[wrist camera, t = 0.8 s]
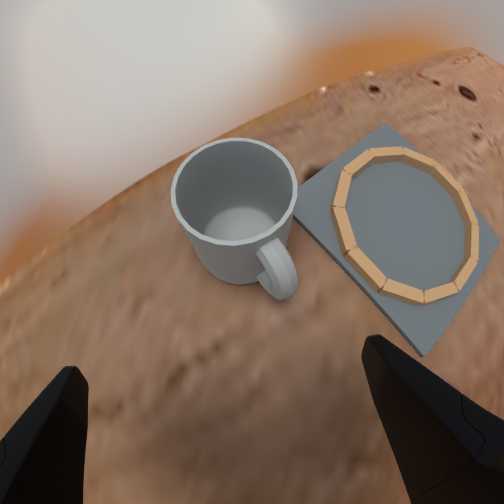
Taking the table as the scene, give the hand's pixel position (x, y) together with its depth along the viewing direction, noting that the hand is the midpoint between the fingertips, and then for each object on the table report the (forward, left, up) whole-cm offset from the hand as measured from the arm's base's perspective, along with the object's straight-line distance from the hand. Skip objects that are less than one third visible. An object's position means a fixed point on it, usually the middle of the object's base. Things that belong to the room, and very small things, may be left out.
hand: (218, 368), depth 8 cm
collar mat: (-1, -19, -15) cm, 24 cm away
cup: (+6, -6, -15) cm, 17 cm away
